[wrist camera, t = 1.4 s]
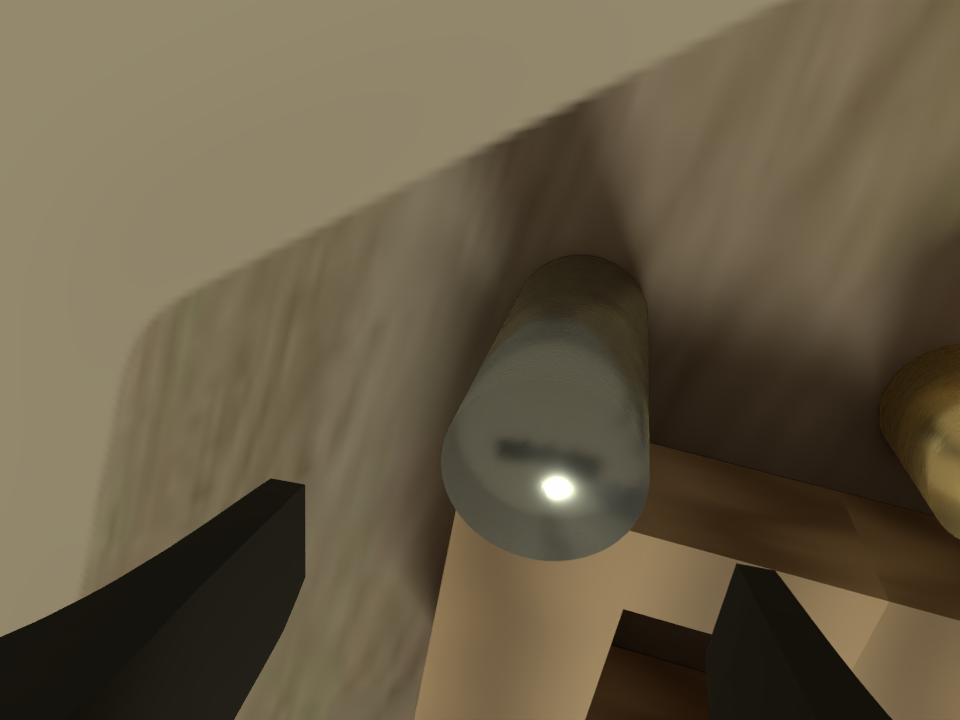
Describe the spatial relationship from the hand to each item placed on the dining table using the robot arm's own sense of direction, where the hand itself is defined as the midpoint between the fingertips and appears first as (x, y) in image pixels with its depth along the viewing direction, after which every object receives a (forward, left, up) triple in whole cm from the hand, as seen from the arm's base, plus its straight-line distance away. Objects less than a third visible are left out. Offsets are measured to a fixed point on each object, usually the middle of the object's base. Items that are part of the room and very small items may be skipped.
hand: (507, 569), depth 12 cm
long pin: (0, -1, -11) cm, 11 cm away
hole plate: (-6, +8, -11) cm, 15 cm away
